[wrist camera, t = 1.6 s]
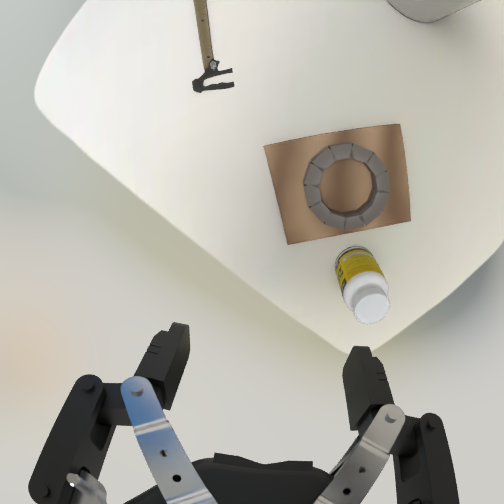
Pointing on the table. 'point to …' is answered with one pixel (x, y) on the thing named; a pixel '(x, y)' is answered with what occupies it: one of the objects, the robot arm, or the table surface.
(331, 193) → the brown panel with ring
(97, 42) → the table surface
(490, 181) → the table surface
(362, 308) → the supplement bottle
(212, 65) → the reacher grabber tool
